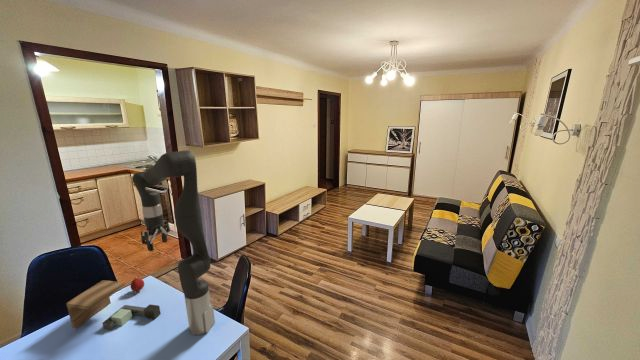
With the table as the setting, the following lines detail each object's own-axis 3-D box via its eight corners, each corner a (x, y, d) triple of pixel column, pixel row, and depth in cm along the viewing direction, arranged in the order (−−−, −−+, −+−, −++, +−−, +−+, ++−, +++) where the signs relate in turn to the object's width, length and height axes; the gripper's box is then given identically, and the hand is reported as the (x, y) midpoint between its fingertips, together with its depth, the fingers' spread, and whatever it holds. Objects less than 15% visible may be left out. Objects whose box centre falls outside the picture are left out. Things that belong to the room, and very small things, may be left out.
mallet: (160, 313, 120) (159, 305, 119) (139, 334, 109) (137, 325, 108) (127, 309, 123) (125, 301, 122) (103, 328, 112) (101, 320, 111)
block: (132, 317, 118) (130, 310, 117) (122, 326, 114) (120, 318, 113) (122, 316, 119) (121, 308, 118) (112, 324, 115) (110, 317, 114)
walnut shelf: (129, 305, 126) (124, 282, 123) (96, 332, 110) (90, 306, 107) (108, 302, 128) (102, 280, 125) (73, 328, 112) (66, 303, 109)
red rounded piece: (132, 296, 132) (129, 282, 130) (131, 290, 136) (128, 277, 134) (146, 291, 136) (143, 277, 134) (144, 286, 140) (141, 272, 138)
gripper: (147, 220, 113) (153, 254, 117) (171, 209, 126) (175, 239, 130) (132, 219, 114) (139, 253, 118) (157, 208, 128) (162, 238, 132)
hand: (158, 246), depth 124 cm, fingers open, 8 cm apart
